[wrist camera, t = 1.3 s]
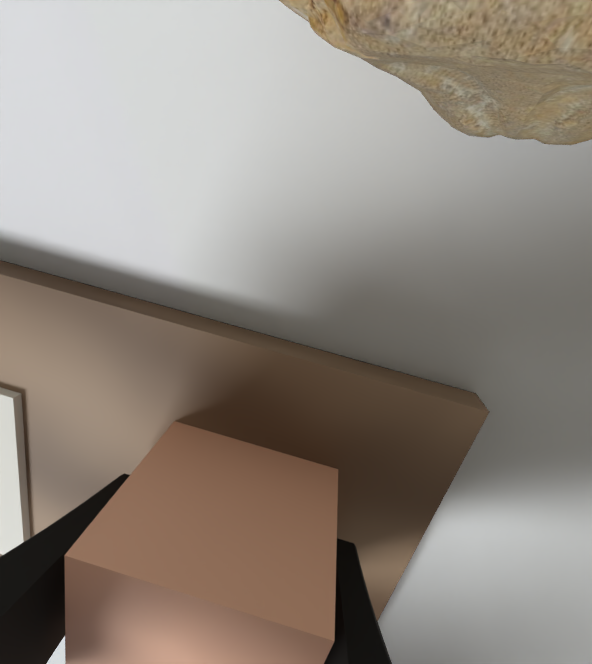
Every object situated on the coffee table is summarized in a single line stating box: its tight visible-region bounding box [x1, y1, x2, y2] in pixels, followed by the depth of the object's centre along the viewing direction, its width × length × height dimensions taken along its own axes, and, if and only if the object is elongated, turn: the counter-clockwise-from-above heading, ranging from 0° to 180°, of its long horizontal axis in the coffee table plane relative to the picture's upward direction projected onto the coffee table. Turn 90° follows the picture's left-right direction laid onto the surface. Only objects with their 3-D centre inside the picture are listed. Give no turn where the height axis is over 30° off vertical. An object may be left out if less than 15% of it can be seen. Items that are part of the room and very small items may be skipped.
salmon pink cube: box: [64, 421, 338, 664], centre depth 9 cm, size 5×5×4 cm
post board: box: [0, 260, 489, 621], centre depth 11 cm, size 16×24×4 cm, turn 76°
